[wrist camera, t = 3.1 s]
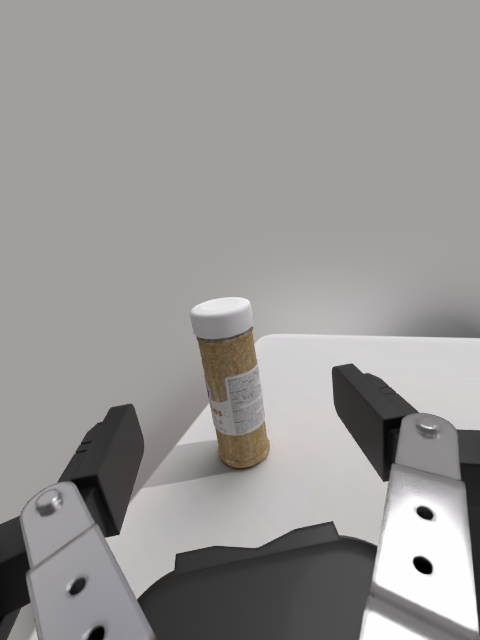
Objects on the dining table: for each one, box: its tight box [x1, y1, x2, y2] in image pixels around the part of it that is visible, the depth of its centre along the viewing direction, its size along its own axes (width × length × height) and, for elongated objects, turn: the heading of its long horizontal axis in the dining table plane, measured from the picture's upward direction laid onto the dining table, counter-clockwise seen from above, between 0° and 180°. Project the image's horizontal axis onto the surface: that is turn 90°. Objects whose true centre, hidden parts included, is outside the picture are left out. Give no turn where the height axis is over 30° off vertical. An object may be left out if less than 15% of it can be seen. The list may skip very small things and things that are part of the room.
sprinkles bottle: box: [190, 297, 270, 468], centre depth 24 cm, size 5×5×13 cm
